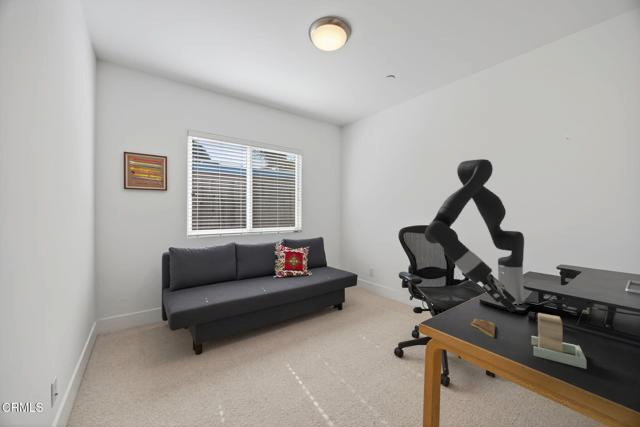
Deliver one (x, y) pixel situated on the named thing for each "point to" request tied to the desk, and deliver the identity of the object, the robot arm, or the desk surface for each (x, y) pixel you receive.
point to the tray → (561, 354)
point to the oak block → (550, 332)
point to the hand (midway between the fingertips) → (513, 305)
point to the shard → (484, 326)
